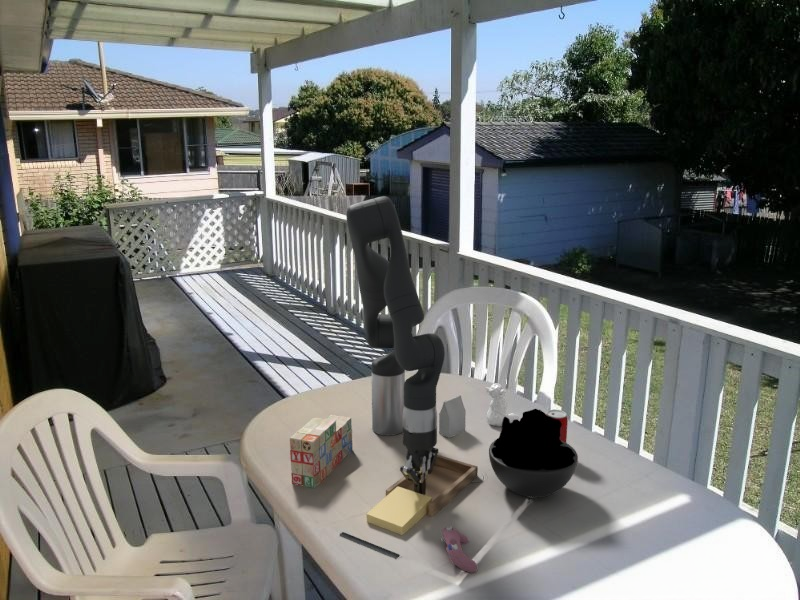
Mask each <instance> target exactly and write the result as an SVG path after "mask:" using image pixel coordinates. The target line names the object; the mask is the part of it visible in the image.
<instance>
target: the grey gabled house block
mask: <svg viewBox="0 0 800 600" xmlns="http://www.w3.org/2000/svg"><path fill="white" fill-rule="evenodd" d="M466 413H467V411H466V408H465V405H464V403H463V398H462V395H457V396H455V397H452V398H449V399H448V400H445V401H443V403H442V406H441V409H440V411H439V414H438V415H439V418H438V419H439V420H438V423H439V424H438V425H439V426H438V434H439V435H441V436H443V437H446V438H448V439H450V438H451V437H454V436H456V435H459V434H461V433H462V432H465V431H466V415H467V414H466Z"/></svg>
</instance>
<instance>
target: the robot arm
mask: <svg viewBox="0 0 800 600" xmlns="http://www.w3.org/2000/svg"><path fill="white" fill-rule="evenodd" d="M345 214H346V215H345V216H346V224H347V228H348V233H349V237H350V240H351V241H350V242H351V245H352V249H353V252H354V253H353V254H354V259H355V264H356V273H357V282H358V287H359V293H360V297H361V302H362V309H363V315H364V316H363V317H364V331H365V339H366V342H367V344H368V346H369V347H371V348H374V349H392V351H390V352H388V353H387V354H384V355H381V356H379V357H376V358H375V359H373V360H372V361H371V366H370V367H371V371H370V372H371V415H372V417H371V418H372V420H371V421H372V425H371V426H372V432H374V433H376V434H378V435H382V436H395V435H399V434H401V433H402V444H403V446H405V448H406V449H407V452H406V456H405V457H406V462H405V465H401V466H400V468H399V471H400V473H401V474H402V475H403V477H405V478H406V479H407V481H409V482H413V483H414V492H416V493H420V494H423V495H425V494H426V480H427V478H428V474H431V472H432V469H433V466H434V463H435V460H436V457H437V455H439V454H438V453H439V448H437V447H435V446H437V443H438V410H437V386H438V383H439V380H440V376H441V372H442V368H443V365H444V361H445V356H446V355H445V354H446V352H445V351H446V349H445V346H444V343H443V341H442V339H441V338H440V336H439V335H437V334H435V333H433V332H432V333H429V332H428V333H423V334H418V335H414V336H413V328H414V327H416V326H418V325H419V324H421V323H422V322H423V321H424V319H425V313H424V310H423V307H422V303H421V302H420V298H419V295H418V291H417V289H416V286H415V282H414V279H413V276H412V272H411V271H412V270H411V268H410V264H409V257H408V254H407V248H406V245H405V244H406V243H405V239H404V235H403V231H402V227H401V224H400V219H399V215H398V212H397V208H396V206H395V205H394V203H393V201H392V199H391V198H390V197H388V196H385V195H383V196H378V197H375V198H371V199H366V200H363V201H361V202H356V203H354V204H351V205H349V206H348V207H347V210H346V213H345ZM385 239H388V240H389V244H390V257H389V260H388V259H386V258H385V257H384V256H383V255H382V254H380V253H379V252H377V251H375V250H374V249H373V248H372V247H371V246H370V245H369V244H370V243H374V242H378V241H380V240H385ZM386 307H387V310H388V312H389V314H388V313H387V314H385V313H384V314H383V313H382V314H381V312H382V311H383V310H384V309H386ZM413 371H416V372H415V373H414V374H413V375H412V376H410V377H408V378H406V372H413Z"/></svg>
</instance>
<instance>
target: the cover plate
mask: <svg viewBox="0 0 800 600" xmlns="http://www.w3.org/2000/svg"><path fill="white" fill-rule="evenodd" d="M431 502H432V497H429V496H426V495H423V494H420V493H416V492H413V491H410V490H407V489H404V488H401V487H398V486H397V487H396V488H395V489H394V490H393V491H392V492H391V493H389V494H388V495H387V496H386V495H385V497H383V499H381V500H380V501H378V503H377V504H376V505H374V507H372V509H370V510H369V511H368V512H367V513H366V522H367V523H369V524H371V525H374V526H377V527H380V528H383V529H386V530H388V531H391V532H393V533H396V534H399V535H401V536H403V535H404V534H405V533H406V532H408V531H409V530H411V528H412V527H413V526H414V525H416V524H417V523H418V522H419V521H420V520H422V518H424V516H425V515H426V513H427V512H428V511H429V504H430V503H431Z"/></svg>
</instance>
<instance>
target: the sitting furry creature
mask: <svg viewBox="0 0 800 600" xmlns="http://www.w3.org/2000/svg"><path fill="white" fill-rule="evenodd" d="M485 390H486V392H487V393H489V394H488V395H489V396H490V397H491V398H492V399H491V401H490V402H489V408H488V410H487V413H486V421H487V423H488V424H489V425H490V426H493V427H502V421H503V418H504V417H507V418H509V421H510V423H512V422H513V420H516V419H517V420H519V421H520V416H519V415H518V414H515V413H513V412H511V413H509V414H507V408H508V403H506V400H505V396H506V392H507V391H505V388H504V387H503V386H502V384H501V383H493V384H491V386H485Z"/></svg>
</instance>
